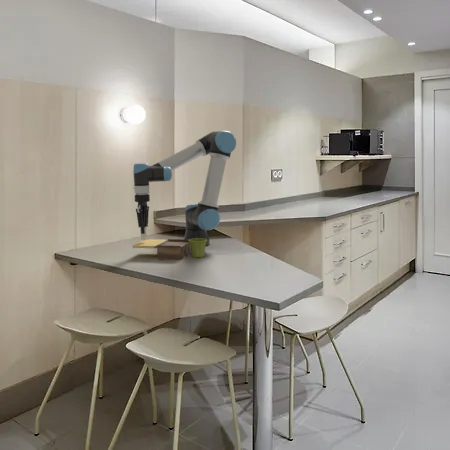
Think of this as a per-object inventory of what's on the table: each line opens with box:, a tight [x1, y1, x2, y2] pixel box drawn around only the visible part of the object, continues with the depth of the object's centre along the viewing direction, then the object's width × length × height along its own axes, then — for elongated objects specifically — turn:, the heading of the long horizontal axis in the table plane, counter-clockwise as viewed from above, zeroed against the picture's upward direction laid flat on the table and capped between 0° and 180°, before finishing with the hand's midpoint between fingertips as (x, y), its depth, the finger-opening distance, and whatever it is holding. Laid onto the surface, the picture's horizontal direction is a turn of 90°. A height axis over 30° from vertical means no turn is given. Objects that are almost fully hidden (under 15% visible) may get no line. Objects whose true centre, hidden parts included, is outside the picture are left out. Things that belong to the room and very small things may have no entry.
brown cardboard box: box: [156, 238, 192, 261], centre depth 254 cm, size 18×12×7 cm, turn 168°
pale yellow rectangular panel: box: [132, 238, 168, 249], centre depth 257 cm, size 19×1×12 cm
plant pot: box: [189, 238, 207, 258], centre depth 252 cm, size 9×9×9 cm
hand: (143, 239), depth 257 cm, fingers closed
